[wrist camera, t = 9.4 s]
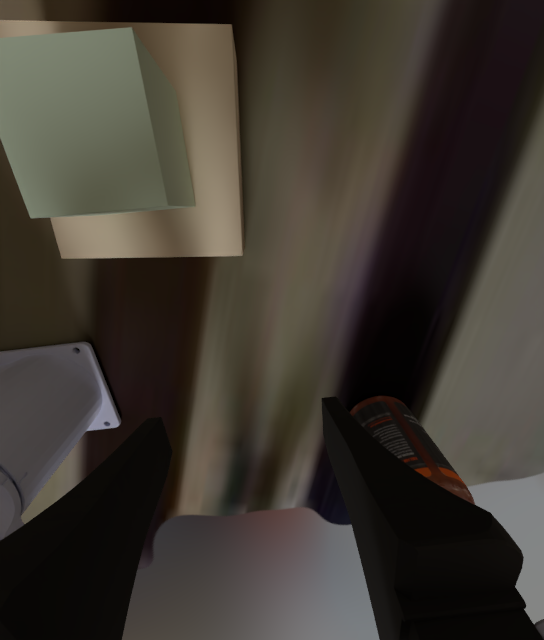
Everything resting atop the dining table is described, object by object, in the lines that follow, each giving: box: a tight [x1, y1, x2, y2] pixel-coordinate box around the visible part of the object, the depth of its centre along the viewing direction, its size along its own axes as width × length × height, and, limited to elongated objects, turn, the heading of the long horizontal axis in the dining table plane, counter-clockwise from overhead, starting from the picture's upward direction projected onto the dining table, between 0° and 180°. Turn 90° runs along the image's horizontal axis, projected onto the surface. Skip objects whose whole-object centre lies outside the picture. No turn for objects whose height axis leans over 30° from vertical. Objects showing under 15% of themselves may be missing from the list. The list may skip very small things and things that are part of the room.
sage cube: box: [0, 27, 196, 218], centre depth 12 cm, size 5×5×5 cm
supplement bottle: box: [349, 396, 475, 505], centre depth 20 cm, size 6×6×11 cm
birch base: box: [0, 20, 245, 259], centre depth 16 cm, size 10×10×4 cm
